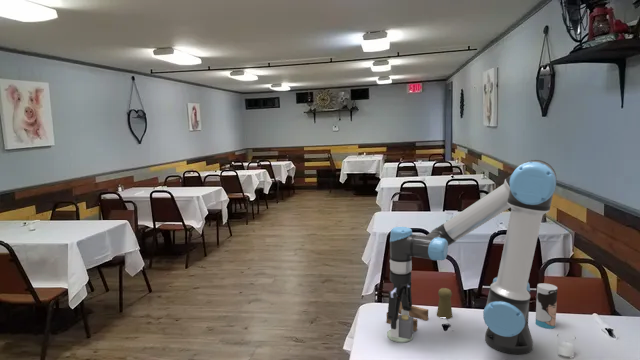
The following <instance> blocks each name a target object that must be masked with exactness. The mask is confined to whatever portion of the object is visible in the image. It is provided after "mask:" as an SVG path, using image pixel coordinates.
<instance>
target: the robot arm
mask: <svg viewBox="0 0 640 360" xmlns="http://www.w3.org/2000/svg"><path fill="white" fill-rule="evenodd" d="M556 187H557V174H556V171H555V168H554V167H553V166H552V165H551V164H549V163H547V161H544V160H539V159H531V160H528V161H525V162H524V163H522V164H520V165H519V166H517V167H516V168H515V169H514V171H513V172H512V173H511V175H509V176H507V178H505V179H504V182H503V184H501V185H500V186H498V187H497V188H495V189H494V190H492V191H490V192H489V193H488V194H486V195H485V196H483V197H481V198H480V199H478V200H477V201H475V202H474V203H472V204H471V205H469V206H468V207H467V208H465V209H464V210H462V211H461V212H459V213H458V214H457V213H456V215H454V216H453V217H451V218H450V219H448V220H447V221H444V222H443V224H441V225H439V226H438V227H435V228H434V229H432V230H431V231H430V232H429V233H428V234H427V235H417V234H413V230H412V228H411V227H407V226H395V227H392V228H391V230H390V236H389V269H390V271H389V282H391V283H392V285H393V286H392V290H391V291H390V290H389V291H388V307H387V312H388V317H387V316H386V319H387V318H388V319H389V320H391V324H390V329H391V336H392V337H396V338H398V337H399V320H398V314H399V315H408V316H409V311H411V310H412V308H410V307H412V306H413V301H412V299H413V295H412V272H411V271H412V269H413V268H412V266H413V264H412V257H413V258H420V259H427V260H431V261H444V260H446V258H447V256H448V253H449V246H450V245H452V244H454V243H455V242H457V241H458V240H460V239H462V238H463V237H465V236H466V235H468V234H470V233H471V232H472V231H474V230H476V229H478V228H480V227H481V226H482V225H484V224H486V223H488V222H489V221H491V220H492V219H494V218H496V217H497V216H499V215H500V214H502V213H504V212H505V211H507V210H509V209H511V210H510V214H509V220H508V224H507V229H506V235H505V238H504V244H503V248H502V249H503V250H502V253H501V260H500V262H499V267H498V268H499V269H498V273H497V276H496V277H494V278H493V280H492V283H491V284H490V286H489V291H488V296H487V301H486V304H485V307H484V309H483V310H482V311H483V320H484V324H485V325H486V326H487V328H486V331H485V335H484V336H485V337H484V338H485V343H486V344H487V345H488V346H489V347H491V348H492V349H494V350H496V351H499V352H502V353H504V354H511V355H524V354H528V353H530V352H532V351H533V349H534V348H533V347H534V340H533V337H532V333H531V329H530V327H529V313H530V300H531V294H530V292H531V287H530V283H529V279H530V273H531V269H532V265H533V260H534V256H535V251H536V247H537V244H538V243H537V242H538V237H539V233H540V229H541V223H542V219H543V216H544V215H545V214H546V213H549V212H550V210H551V206H552V201H553V196H554V193H555V190H556ZM400 303H402V308H403V309H404V310H401V314H400V313H399V308H400ZM409 317H410V316H409Z"/></svg>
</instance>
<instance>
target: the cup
mask: <svg viewBox="0 0 640 360" xmlns="http://www.w3.org/2000/svg"><path fill="white" fill-rule="evenodd" d="M557 303H558V286H557V285H555V284H550V283H537V286H536V307H535V322H534V323H535V325H537V326H538V327H540V328H542V329H549V330H551V329H555V328H556V323H557V322H556V321H557Z"/></svg>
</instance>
